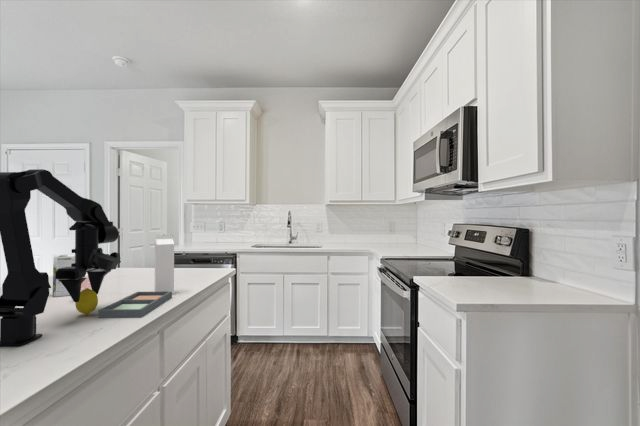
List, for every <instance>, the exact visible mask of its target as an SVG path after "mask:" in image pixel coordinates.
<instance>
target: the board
mask: <svg viewBox="0 0 640 426" xmlns="http://www.w3.org/2000/svg"><path fill="white" fill-rule="evenodd" d="M172 298H173V295H172V291H162V292H155V291H136V292H134V293H132V294H130V295H127V296H126V297H123V298H121V299H119V300H117V301H115V302H113V303H111V304H109V305H107V306H105V307H102V308H100V309H98V312H97V313H98V314H97V316H98V319H116V318H117V319H120V318H121V319H122V318H123V319H125V318H126V319H129V318H143V317H145V316H147V314H149V313H150V312H152V311H153V310H155V309H156V308H159V306H161V305H163V304H164V303H166V302H167V301H169V300H170V299H172Z"/></svg>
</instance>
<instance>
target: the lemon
mask: <svg viewBox="0 0 640 426" xmlns="http://www.w3.org/2000/svg"><path fill="white" fill-rule="evenodd" d="M98 297H99V296H98V294H96V292H94V291H93V290H92V289H89V288H86V289H85V290H83V291H81V292H80V299H79V302H74V303H75V308H76V311H78V312H79V313H80V314H84V316H88V315H89V314H90V313H92V312H94V311H95V310H96V308H97V307H98V303H99V298H98Z"/></svg>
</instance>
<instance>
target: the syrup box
mask: <svg viewBox="0 0 640 426" xmlns="http://www.w3.org/2000/svg"><path fill="white" fill-rule="evenodd" d="M72 263H75V254H59V255H56V256H53V264H52V265H53V266H52V267H53V269H52V270H53V271H52V297H53V298H57V297H67V296H70V294H69V293H68V291H67V289H66V288H65V287H64V285H63V284H62V283H61V281H58V279H55V271H57V270H58V269H59V268H63V267H71V264H72ZM70 297H71V296H70Z"/></svg>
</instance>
